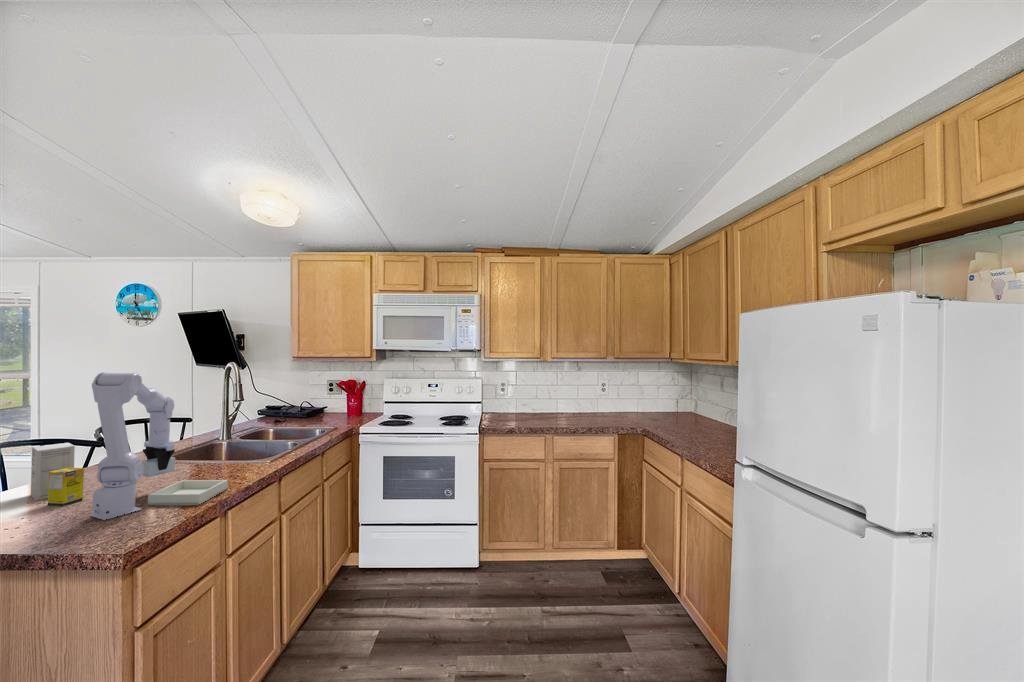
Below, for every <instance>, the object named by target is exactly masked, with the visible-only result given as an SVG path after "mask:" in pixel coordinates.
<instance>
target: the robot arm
mask: <svg viewBox="0 0 1024 682" xmlns="http://www.w3.org/2000/svg"><path fill="white" fill-rule="evenodd" d="M91 388H92V394H93V400H94V402H95V403H97V409H98V415H99V419H100V425H101V430H102V435H103V442H104V446H105V452H106V456H105V457H104V458H103V459H101V460H100V461H99V463H98V464H97V473H96V478H97V480H98V482H99V484H101V488H97V489H95V490H94V492H93V493H92V494H93V495H92V505H91V507H92V508H91V509H92V511H91V514H90V516H91V517H93V518H96V519H99V520H103V521H107V520H110V519H113V518H117V516H118V517H121V516H125V515H129V514H132V513H135V511H136V512H139V511H142V507H138V506H136V493H137V492H136V488H137V487H136V486H137V483H138V482H139V481H140V480H141V479H142V478H143V477H144V476H143V473H144V465H143V464H142V462H141V461H142V460H141V457H140V455H138V454H136V453H134V452H132V451H131V449H130V444H129V439H128V438H129V437H128V431H127V426H126V422H125V415H124V410H123V409H124V408H123V405H124V404H127V403H130V401H131V400H132V399H133V398H134V396H136V399H137V401H138V403H140V404H141V405H143V406H144V407H145V410H146V413H148V414H149V427H148V430H149V431H148V440H146V441H144V443H143V445H144V446H143V447H144V449H142V452H143V454H144V455H145V458H146V460H149V459H155V458H157V461H158V469H159V470H164V469H167V466H168V463H169V460H170V458H171V457H173V455H174V453H175V452H176V449H175V444H173V441H172V440H170V433H171V432H170V431H171V429H170V428H171V418H172V417H173V412H174V409H175V400H174V399H173V398H171V397H166V396H164V395H163V394H162V393H160V392H159V391H158V390H157V389H156V388H155V387H147V385H145V384H144V383H143V378H142V376H141V375H140V374H139V373H138V372H131V373H129V372H123V373H122V372H110V373H109V372H99V373H97V375H96V376H95V377H94V380H93V381H92V382H91ZM131 512H132V513H131ZM124 514H125V515H124ZM106 519H107V520H106Z"/></svg>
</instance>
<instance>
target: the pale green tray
mask: <svg viewBox="0 0 1024 682" xmlns="http://www.w3.org/2000/svg"><path fill="white" fill-rule="evenodd" d="M228 485H229V482H228V479H191V480H190V479H184V480H183V479H182V480H179V481H178V482H177V481H176V482H175V483H173V484H170V485H168V486H165V487H164V488H161V489H159V490H156V491H154V492H152V493H149V494H148V496H147V497H148V498H147V506H148V505H155V506H200V505H202V504H204V503H205V501H206V502H208V501H209V500H211V499H213V498H215V497H217V496H218V495H220V494H222V493H224V492H225V490H226V491H227V489H228ZM223 491H224V492H223ZM221 492H222V493H221ZM219 493H220V494H219ZM217 494H218V495H217ZM216 495H217V496H216ZM214 496H215V497H214ZM212 497H213V498H212ZM210 498H211V499H210ZM203 502H204V503H203ZM201 503H202V504H201ZM199 504H200V505H199Z"/></svg>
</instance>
